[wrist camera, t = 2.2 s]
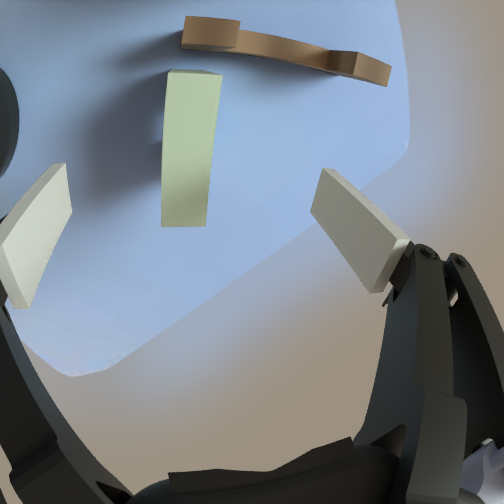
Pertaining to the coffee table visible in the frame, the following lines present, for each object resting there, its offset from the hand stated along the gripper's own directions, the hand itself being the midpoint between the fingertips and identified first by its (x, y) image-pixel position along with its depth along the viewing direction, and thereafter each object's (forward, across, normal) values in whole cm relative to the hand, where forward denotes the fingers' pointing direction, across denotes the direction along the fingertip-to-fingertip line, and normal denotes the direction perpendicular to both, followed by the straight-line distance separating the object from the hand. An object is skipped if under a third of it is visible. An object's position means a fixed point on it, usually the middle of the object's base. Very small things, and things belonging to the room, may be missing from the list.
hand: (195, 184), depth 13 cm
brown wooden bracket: (+15, +7, +8) cm, 18 cm away
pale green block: (+15, 0, 0) cm, 15 cm away
